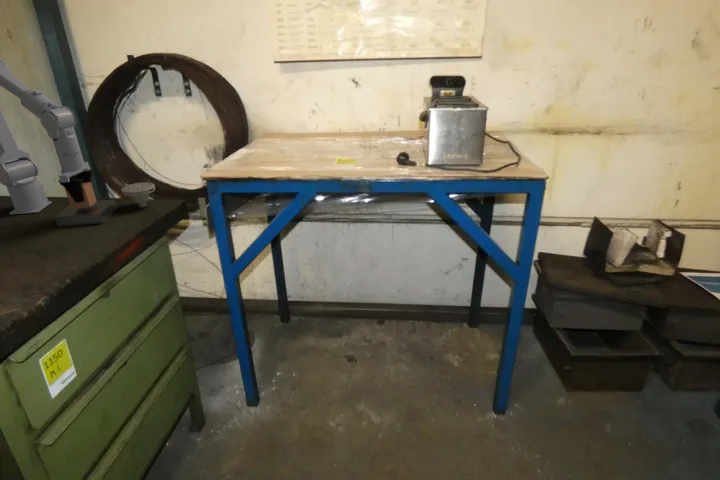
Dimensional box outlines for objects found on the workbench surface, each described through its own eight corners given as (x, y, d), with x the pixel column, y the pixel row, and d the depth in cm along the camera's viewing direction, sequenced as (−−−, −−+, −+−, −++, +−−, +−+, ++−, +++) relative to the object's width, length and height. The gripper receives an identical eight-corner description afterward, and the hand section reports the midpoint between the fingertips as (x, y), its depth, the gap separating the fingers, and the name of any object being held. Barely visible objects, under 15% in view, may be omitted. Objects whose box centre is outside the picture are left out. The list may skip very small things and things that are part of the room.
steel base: (75, 211, 130) (72, 202, 129) (117, 208, 132) (114, 199, 131) (58, 226, 120) (54, 217, 118) (103, 223, 122) (100, 213, 120)
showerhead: (132, 178, 136) (160, 180, 134) (138, 199, 139) (164, 201, 137) (111, 188, 128) (140, 189, 126) (117, 210, 131) (146, 212, 129)
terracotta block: (78, 202, 126) (72, 183, 123) (96, 201, 127) (90, 182, 124) (71, 208, 122) (64, 188, 119) (90, 207, 122) (83, 187, 120)
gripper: (73, 158, 112) (88, 206, 118) (94, 146, 125) (106, 189, 130) (44, 160, 111) (60, 208, 116) (68, 147, 123) (82, 191, 129)
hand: (83, 198), depth 123 cm, fingers closed on terracotta block, 5 cm apart
